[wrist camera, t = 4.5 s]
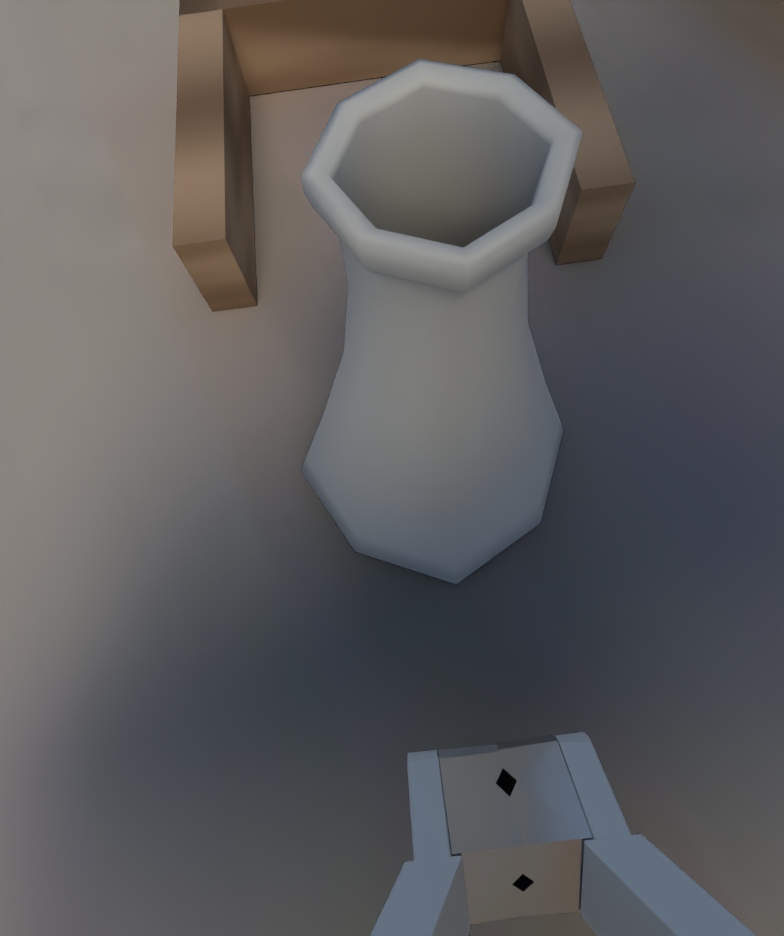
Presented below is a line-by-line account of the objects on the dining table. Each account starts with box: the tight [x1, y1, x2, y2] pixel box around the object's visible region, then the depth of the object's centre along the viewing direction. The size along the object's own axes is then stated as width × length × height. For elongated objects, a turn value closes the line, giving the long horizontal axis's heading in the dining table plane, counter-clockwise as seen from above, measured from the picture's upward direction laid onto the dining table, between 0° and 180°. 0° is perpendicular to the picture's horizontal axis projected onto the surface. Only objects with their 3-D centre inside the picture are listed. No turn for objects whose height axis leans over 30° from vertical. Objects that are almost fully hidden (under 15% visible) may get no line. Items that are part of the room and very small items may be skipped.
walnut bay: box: [173, 0, 635, 311], centre depth 18 cm, size 12×13×3 cm
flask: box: [301, 59, 583, 584], centre depth 11 cm, size 7×7×10 cm
